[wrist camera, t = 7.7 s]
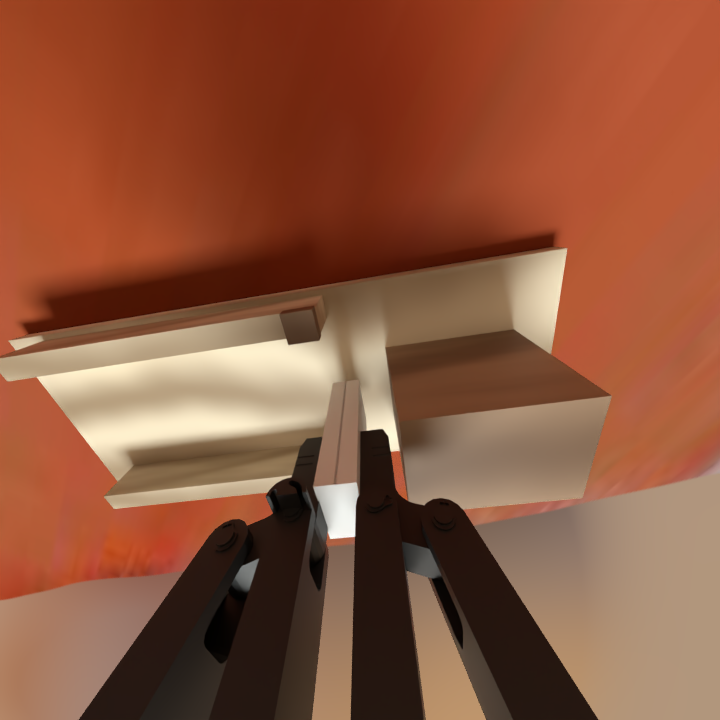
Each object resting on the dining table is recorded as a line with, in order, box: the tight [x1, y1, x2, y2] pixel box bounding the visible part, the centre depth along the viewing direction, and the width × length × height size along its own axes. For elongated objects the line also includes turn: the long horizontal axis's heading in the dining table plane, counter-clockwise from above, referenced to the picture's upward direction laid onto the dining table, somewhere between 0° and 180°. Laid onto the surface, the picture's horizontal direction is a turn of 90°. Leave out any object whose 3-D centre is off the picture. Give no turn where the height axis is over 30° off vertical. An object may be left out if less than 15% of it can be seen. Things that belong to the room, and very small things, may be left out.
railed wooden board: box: [0, 247, 567, 509], centre depth 16 cm, size 12×30×4 cm, turn 99°
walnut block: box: [385, 329, 612, 509], centre depth 13 cm, size 5×7×6 cm
